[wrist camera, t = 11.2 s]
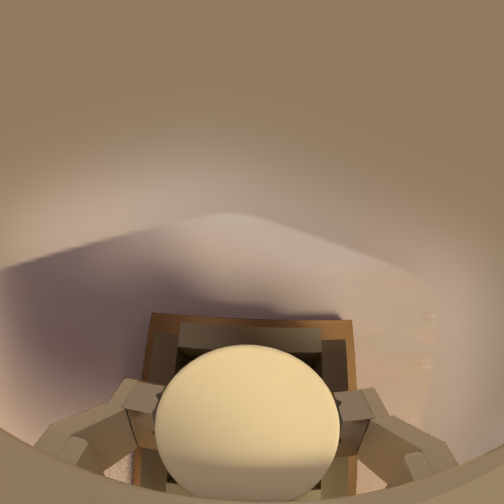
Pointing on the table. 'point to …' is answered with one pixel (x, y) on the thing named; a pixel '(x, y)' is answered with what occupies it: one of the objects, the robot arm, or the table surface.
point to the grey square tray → (249, 333)
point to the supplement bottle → (247, 426)
